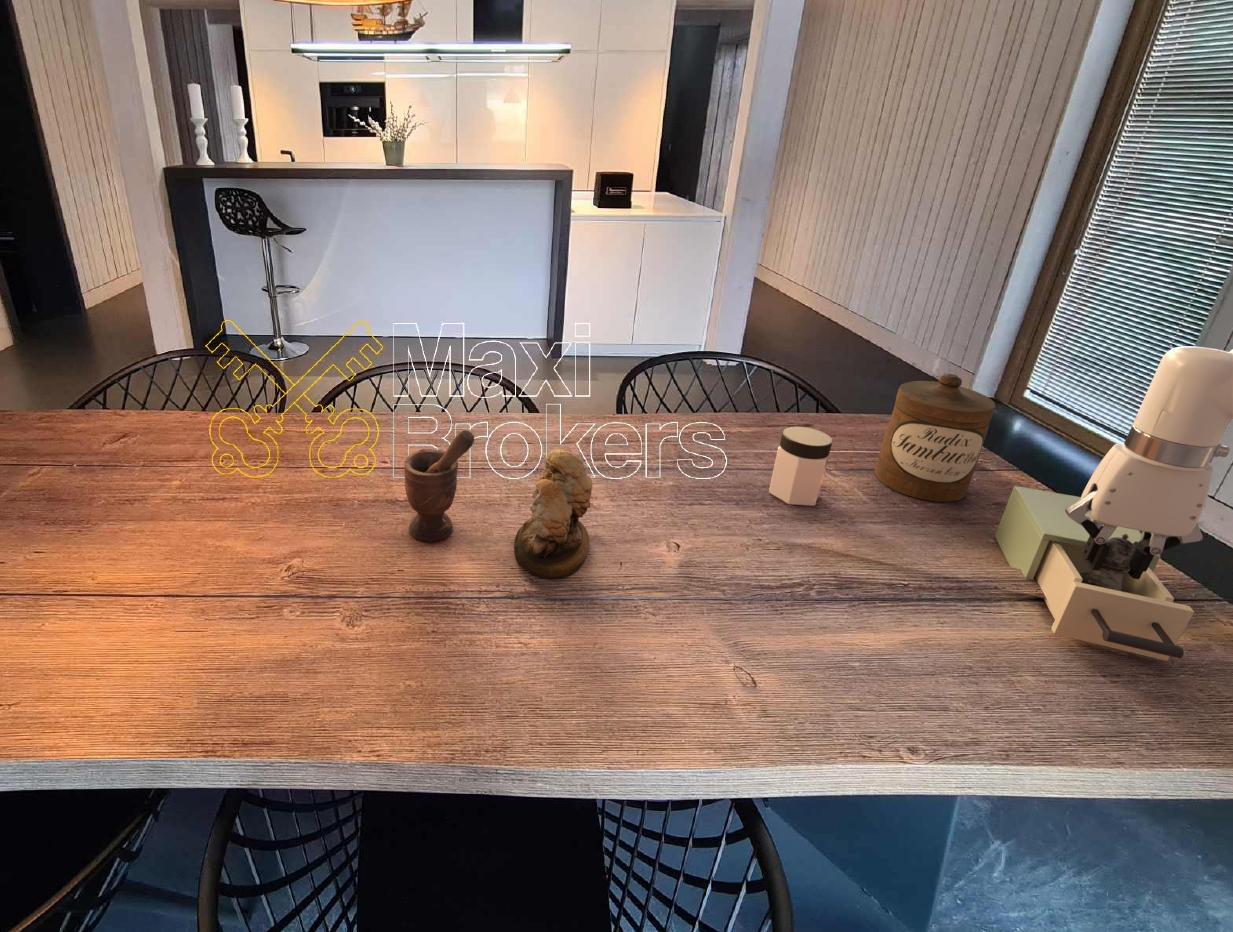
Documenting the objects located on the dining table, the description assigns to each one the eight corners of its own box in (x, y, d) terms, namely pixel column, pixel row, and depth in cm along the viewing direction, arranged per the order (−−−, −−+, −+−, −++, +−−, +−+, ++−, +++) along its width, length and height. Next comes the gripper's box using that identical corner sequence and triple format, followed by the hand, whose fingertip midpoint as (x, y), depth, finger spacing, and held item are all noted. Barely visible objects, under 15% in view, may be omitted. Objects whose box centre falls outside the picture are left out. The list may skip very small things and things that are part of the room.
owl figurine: (523, 511, 117) (528, 423, 110) (591, 520, 114) (600, 430, 107) (506, 574, 100) (510, 475, 94) (584, 586, 98) (594, 485, 91)
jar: (810, 484, 126) (824, 427, 121) (827, 507, 119) (843, 447, 114) (761, 481, 127) (773, 424, 122) (775, 504, 119) (789, 444, 115)
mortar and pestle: (479, 521, 114) (481, 414, 106) (470, 550, 106) (472, 438, 98) (413, 513, 115) (410, 408, 108) (400, 542, 108) (396, 431, 100)
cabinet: (1131, 613, 94) (1161, 556, 90) (1021, 589, 98) (1044, 533, 94) (1091, 555, 106) (1115, 503, 102) (994, 536, 111) (1014, 485, 107)
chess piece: (1114, 602, 93) (1149, 529, 88) (1126, 627, 88) (1164, 552, 83) (1060, 588, 95) (1091, 516, 91) (1069, 611, 91) (1102, 538, 86)
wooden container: (880, 492, 123) (912, 382, 115) (869, 458, 136) (898, 356, 127) (975, 510, 118) (1016, 396, 110) (955, 472, 131) (991, 367, 122)
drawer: (1190, 694, 79) (1220, 642, 76) (1069, 663, 84) (1092, 613, 80) (1121, 596, 96) (1144, 550, 92) (1023, 575, 100) (1041, 530, 97)
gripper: (1240, 447, 82) (1176, 569, 89) (1072, 423, 88) (1026, 538, 95) (1278, 474, 76) (1206, 603, 83) (1095, 446, 82) (1043, 568, 89)
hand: (1110, 567), depth 89 cm, fingers closed on chess piece, 3 cm apart
